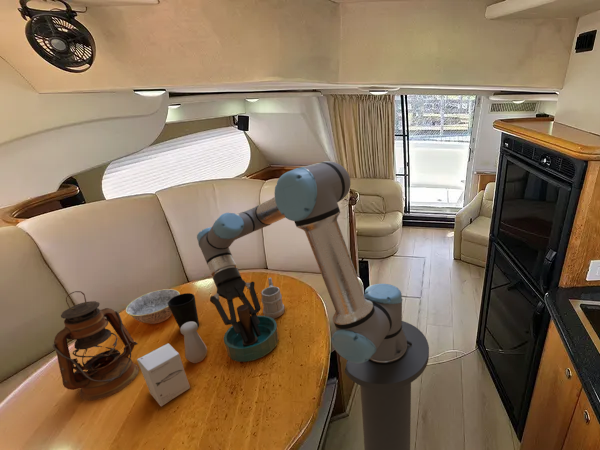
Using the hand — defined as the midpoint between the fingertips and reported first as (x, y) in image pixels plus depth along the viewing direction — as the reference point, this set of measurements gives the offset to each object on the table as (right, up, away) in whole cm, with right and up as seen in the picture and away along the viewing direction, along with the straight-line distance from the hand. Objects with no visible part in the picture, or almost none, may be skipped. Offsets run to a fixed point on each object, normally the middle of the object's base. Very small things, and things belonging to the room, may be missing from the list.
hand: (252, 338), depth 96 cm
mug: (-3, +2, +25) cm, 25 cm away
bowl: (-44, 0, +20) cm, 49 cm away
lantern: (-38, -10, -6) cm, 40 cm away
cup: (-30, -2, +15) cm, 33 cm away
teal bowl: (-3, -5, +7) cm, 9 cm away
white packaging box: (-18, -11, -9) cm, 24 cm away
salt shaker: (-18, -7, +2) cm, 19 cm away
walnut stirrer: (-3, -3, +4) cm, 6 cm away
